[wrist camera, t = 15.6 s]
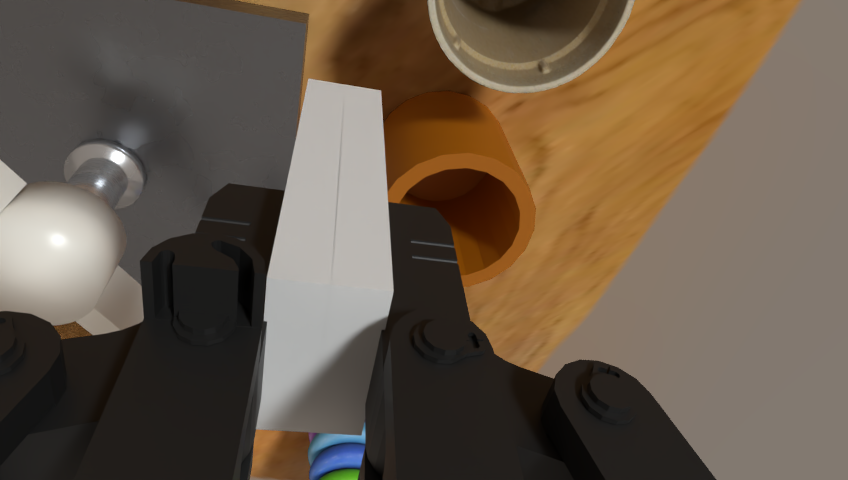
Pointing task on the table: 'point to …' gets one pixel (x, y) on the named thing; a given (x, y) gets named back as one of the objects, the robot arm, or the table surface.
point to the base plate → (150, 103)
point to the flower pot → (526, 39)
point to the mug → (461, 178)
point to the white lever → (64, 256)
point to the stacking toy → (335, 456)
